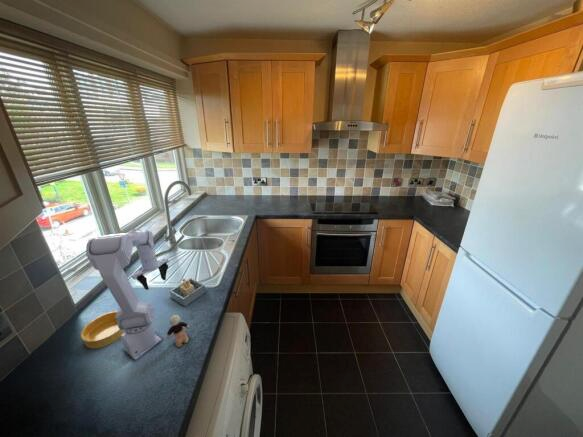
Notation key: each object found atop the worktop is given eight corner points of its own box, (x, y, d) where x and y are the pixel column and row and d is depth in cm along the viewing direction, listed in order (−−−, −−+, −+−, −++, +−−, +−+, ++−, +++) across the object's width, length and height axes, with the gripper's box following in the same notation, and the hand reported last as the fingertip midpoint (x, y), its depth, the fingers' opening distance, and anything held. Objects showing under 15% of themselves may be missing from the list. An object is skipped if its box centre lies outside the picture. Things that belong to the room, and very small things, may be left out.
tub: (185, 306, 104) (183, 299, 102) (171, 297, 109) (169, 290, 107) (205, 291, 113) (204, 284, 111) (192, 284, 118) (190, 277, 116)
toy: (188, 298, 108) (184, 284, 105) (181, 294, 110) (178, 280, 107) (195, 293, 111) (192, 279, 108) (188, 289, 113) (186, 276, 110)
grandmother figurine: (188, 333, 91) (181, 307, 86) (193, 338, 88) (187, 312, 84) (168, 347, 85) (160, 320, 80) (173, 353, 83) (165, 326, 78)
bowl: (94, 356, 82) (90, 348, 81) (78, 337, 89) (74, 330, 88) (137, 327, 93) (134, 320, 92) (119, 313, 100) (116, 306, 99)
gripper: (159, 247, 106) (165, 272, 111) (124, 262, 95) (133, 290, 100) (168, 251, 102) (174, 277, 108) (133, 268, 91) (142, 296, 96)
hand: (155, 284), depth 104 cm, fingers open, 7 cm apart
